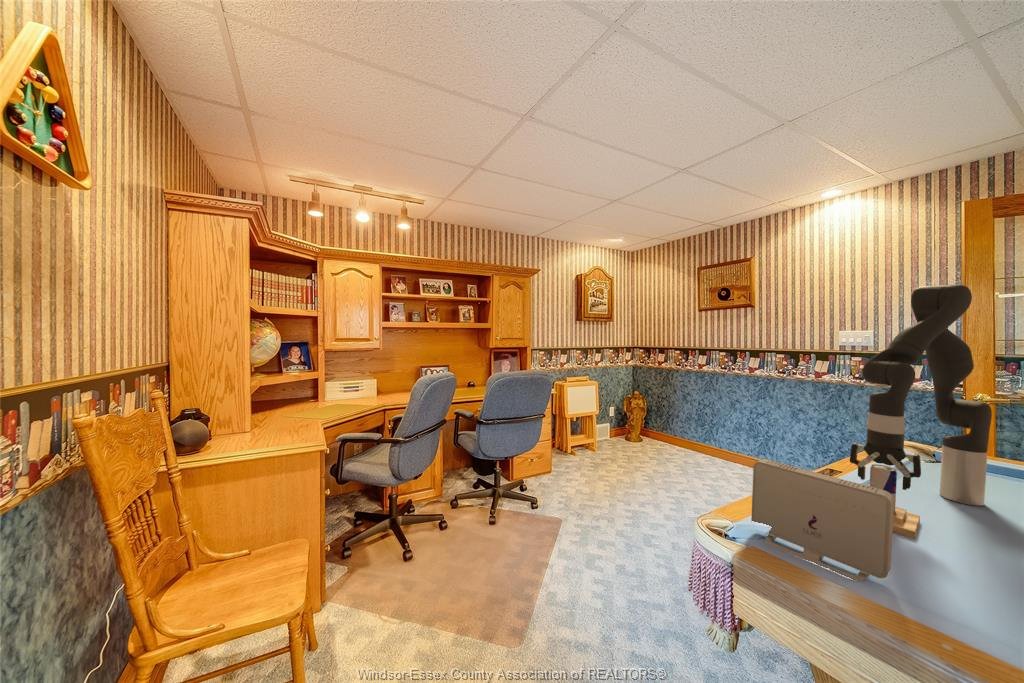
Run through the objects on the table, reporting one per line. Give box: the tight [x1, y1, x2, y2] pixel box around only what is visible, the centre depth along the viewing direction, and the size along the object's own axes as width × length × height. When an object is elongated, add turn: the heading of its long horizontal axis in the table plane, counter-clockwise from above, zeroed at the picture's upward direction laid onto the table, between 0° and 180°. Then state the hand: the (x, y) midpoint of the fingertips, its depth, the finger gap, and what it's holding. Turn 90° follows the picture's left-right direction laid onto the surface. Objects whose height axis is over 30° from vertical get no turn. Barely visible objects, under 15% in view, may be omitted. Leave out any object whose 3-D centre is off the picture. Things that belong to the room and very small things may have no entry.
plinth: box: [893, 506, 921, 540], centre depth 104 cm, size 14×14×4 cm
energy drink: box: [869, 463, 898, 511], centre depth 104 cm, size 5×5×12 cm
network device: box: [750, 458, 894, 582], centre depth 87 cm, size 26×9×20 cm, turn 36°
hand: (882, 484), depth 104 cm, fingers open, 8 cm apart
